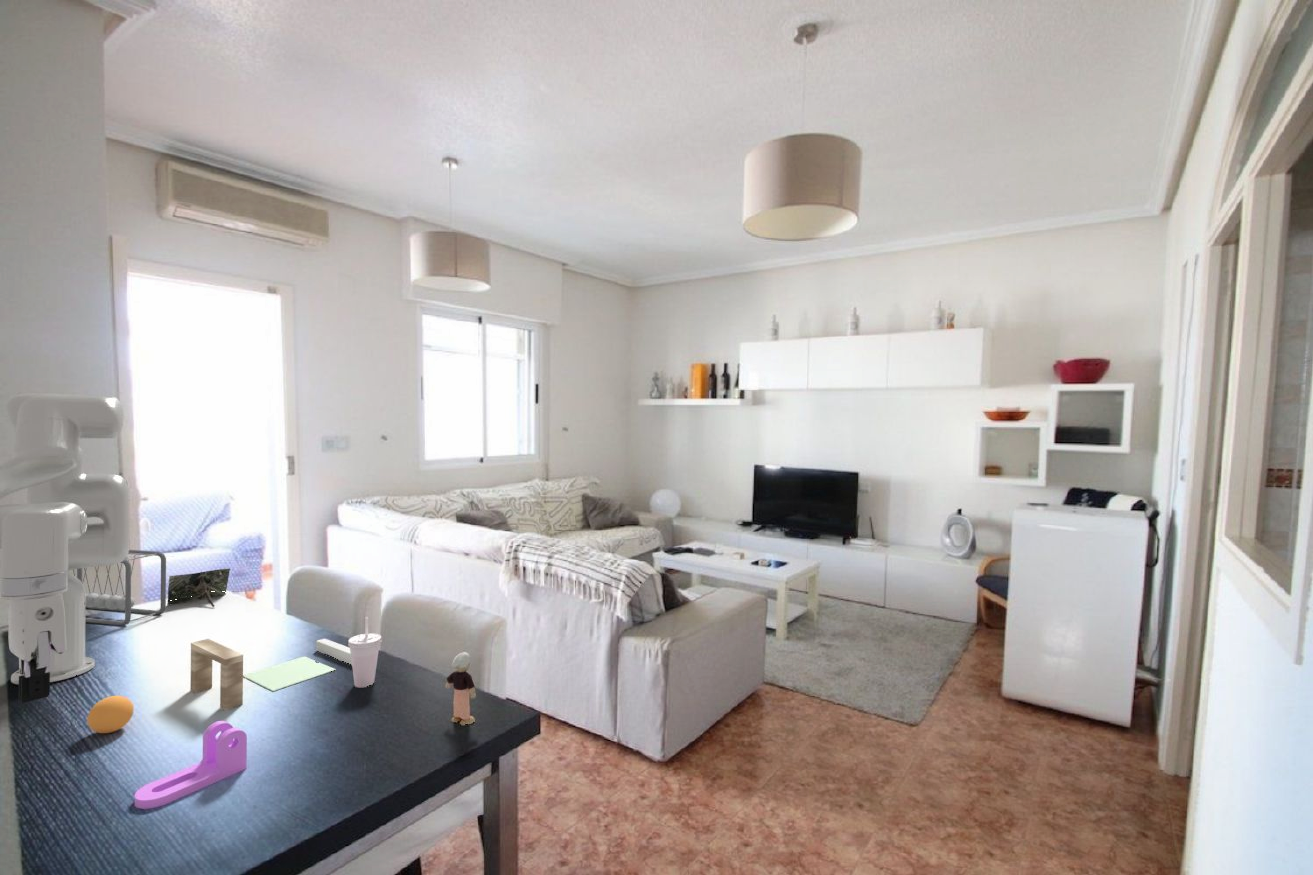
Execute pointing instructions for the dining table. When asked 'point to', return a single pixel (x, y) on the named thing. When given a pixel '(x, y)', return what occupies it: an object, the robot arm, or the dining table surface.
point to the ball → (110, 714)
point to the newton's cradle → (127, 601)
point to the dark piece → (197, 586)
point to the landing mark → (288, 673)
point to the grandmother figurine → (461, 689)
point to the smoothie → (364, 656)
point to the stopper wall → (334, 650)
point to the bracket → (200, 767)
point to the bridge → (229, 673)
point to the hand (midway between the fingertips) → (34, 698)
